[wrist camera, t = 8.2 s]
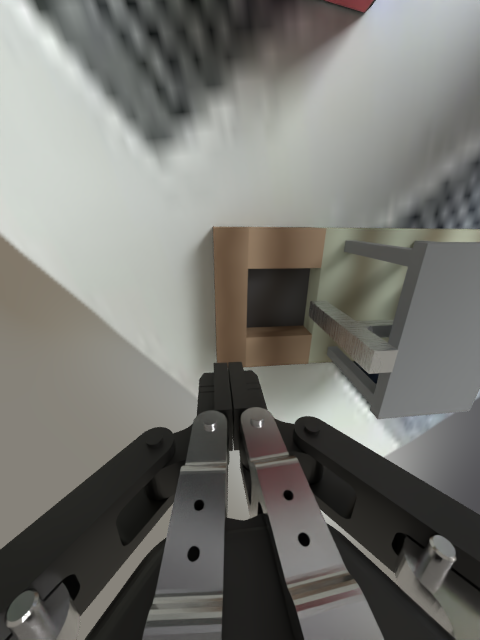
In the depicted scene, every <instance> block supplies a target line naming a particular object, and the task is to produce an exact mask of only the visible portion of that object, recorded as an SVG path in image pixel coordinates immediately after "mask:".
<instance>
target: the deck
mask: <svg viewBox="0 0 480 640" xmlns="http://www.w3.org/2000/svg"><path fill="white" fill-rule="evenodd" d="M346 240H357V241H364V242H371V243H378V244H385V245H392V246H399V247H407V248H413V246H414V242H415V241H434V242H480V229H417V228H311V227H213V243H214V280H215V316H216V352H217V363H225V362H227V365H228V362H242V365H243V367H257V366H274V365H291V364H309V363H326V362H333V361H332V360H331V359H330V358H329V357H328V356H327V350H328V347H331V346H337V347H338V348H339V349H340V350H341V351H342V352H343V353H344V354H345V355H346V356H347V357H348V358H349V359H350V360H351V361H355V360H354V359H353V358H352V357H351V356H350V355H349V354H348V353H347V352H346V351H345V350H343V349H342V348H341V347H340V346H339V345H338V344H337V343H336V342H335V341H334V340H333V339H332V338H331V337H330V336H329V335H328V334H327V333H326V332H325V331H324V330H323V329H322V328H320V327H319V326H318V325H317V324H316V323H315V322H314V321H313V320H312V319H311V318H310V317H309V308H310V301H327V302H329V303H330V304H332V305H333V306H335V307H336V308H337V309H339V310H340V311H342V312H343V313H345V314H346V315H348V316H349V317H351V318H352V319H354V320H355V321H374V320H394V317H395V313H396V310H397V306H398V302H399V298H400V295H401V291H402V287H403V283H404V280H405V276H406V272H407V268H408V267H407V266H403V265H399V264H394V263H390V262H386V261H382V260H377V259H373V258H369V257H365V256H360V255H356V254H352V253H348V252H344V247H345V241H346ZM381 339H383V340H384V341H386V342H387V343H388V340H389V337H385V338H381Z"/></svg>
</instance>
